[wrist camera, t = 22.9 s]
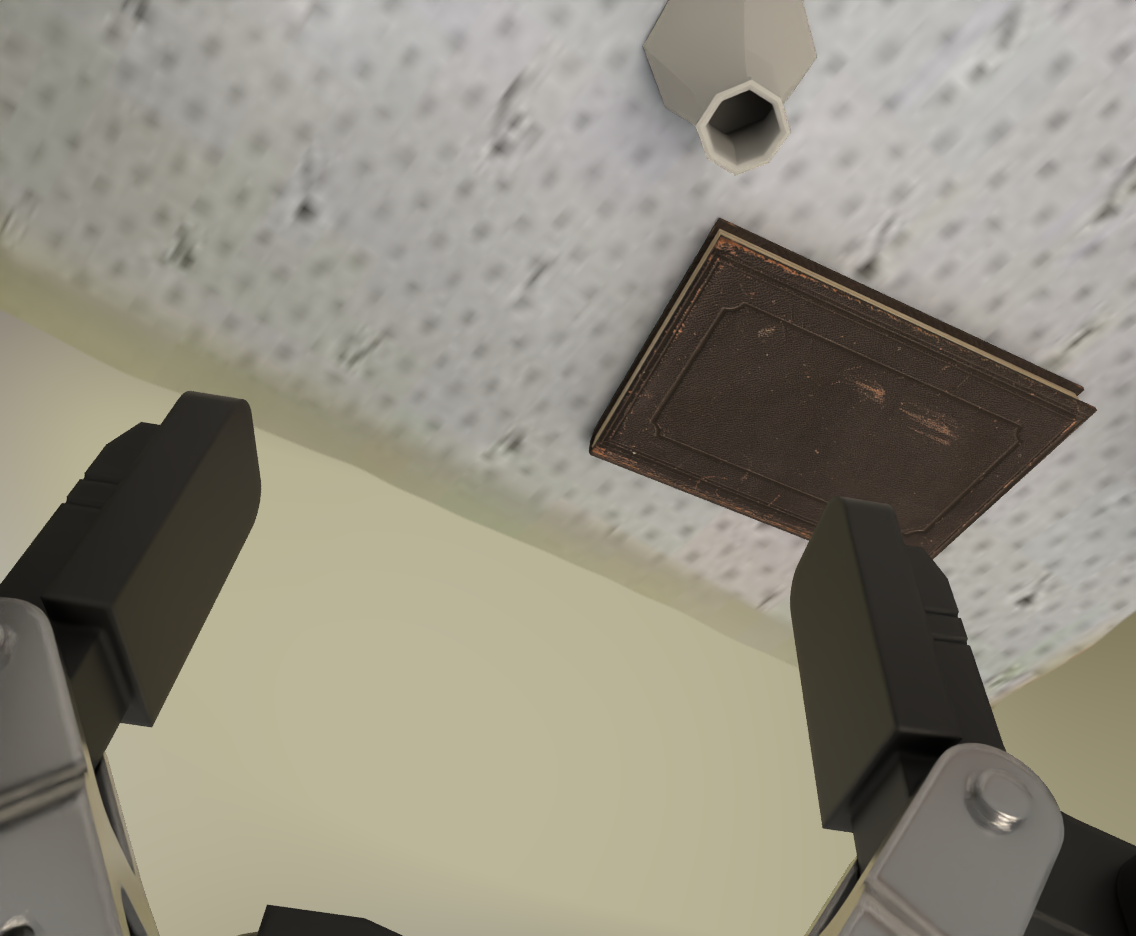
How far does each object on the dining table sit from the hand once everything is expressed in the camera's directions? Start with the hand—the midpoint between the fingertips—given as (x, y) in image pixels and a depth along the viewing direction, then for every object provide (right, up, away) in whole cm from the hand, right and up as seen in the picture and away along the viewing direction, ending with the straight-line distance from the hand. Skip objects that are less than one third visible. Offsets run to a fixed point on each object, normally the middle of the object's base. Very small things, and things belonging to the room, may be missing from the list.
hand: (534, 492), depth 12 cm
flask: (+8, +19, +26) cm, 33 cm away
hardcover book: (+16, +4, +39) cm, 42 cm away
